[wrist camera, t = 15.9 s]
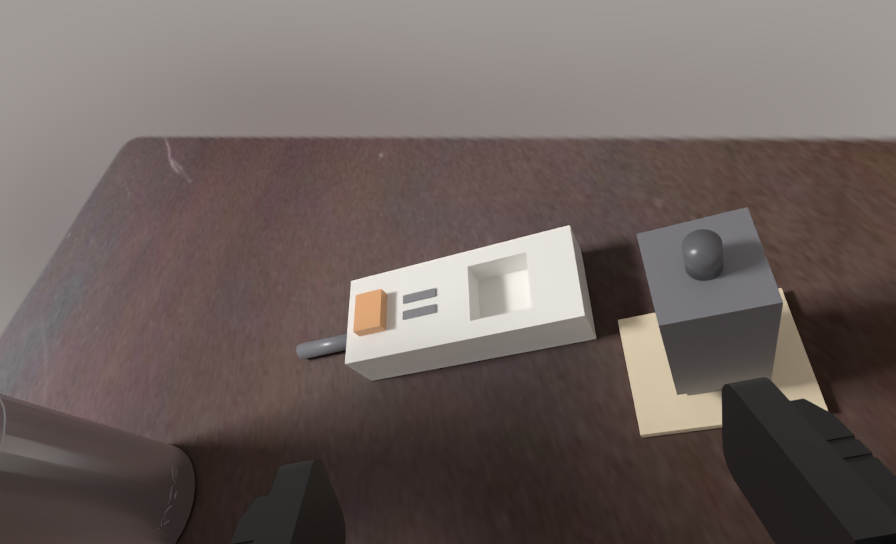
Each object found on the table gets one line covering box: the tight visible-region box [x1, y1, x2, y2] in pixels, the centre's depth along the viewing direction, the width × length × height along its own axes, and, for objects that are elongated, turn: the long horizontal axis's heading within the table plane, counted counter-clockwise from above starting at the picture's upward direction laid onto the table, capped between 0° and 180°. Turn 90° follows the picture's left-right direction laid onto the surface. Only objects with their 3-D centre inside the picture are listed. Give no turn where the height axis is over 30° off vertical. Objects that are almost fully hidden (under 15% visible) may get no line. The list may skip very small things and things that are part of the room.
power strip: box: [296, 225, 597, 381], centre depth 39 cm, size 22×6×4 cm, turn 91°
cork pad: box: [618, 288, 828, 438], centre depth 32 cm, size 9×7×1 cm
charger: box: [637, 207, 783, 396], centre depth 26 cm, size 4×4×12 cm
